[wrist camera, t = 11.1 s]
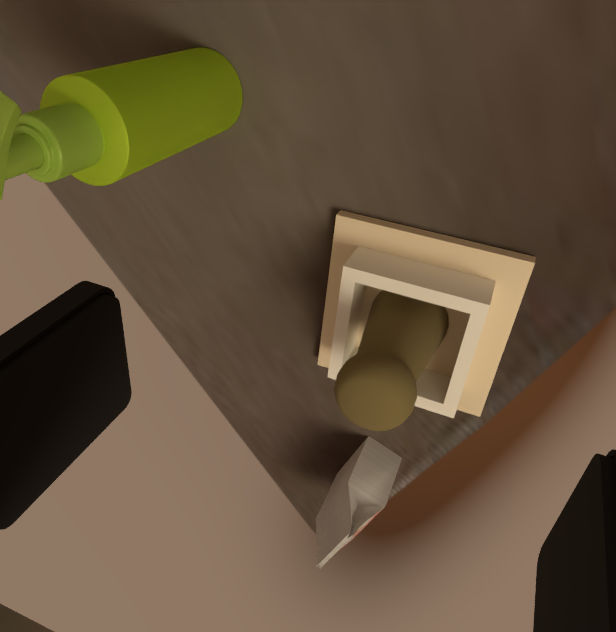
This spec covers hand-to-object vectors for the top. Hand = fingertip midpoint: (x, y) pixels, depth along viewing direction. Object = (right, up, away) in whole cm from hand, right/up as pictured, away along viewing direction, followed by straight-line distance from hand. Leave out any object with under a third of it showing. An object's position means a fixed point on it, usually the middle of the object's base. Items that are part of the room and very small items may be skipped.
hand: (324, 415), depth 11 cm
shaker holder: (+8, +2, +33) cm, 34 cm away
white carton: (+6, -12, +43) cm, 45 cm away
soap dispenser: (-7, +19, +30) cm, 36 cm away
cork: (+7, +2, +32) cm, 33 cm away
